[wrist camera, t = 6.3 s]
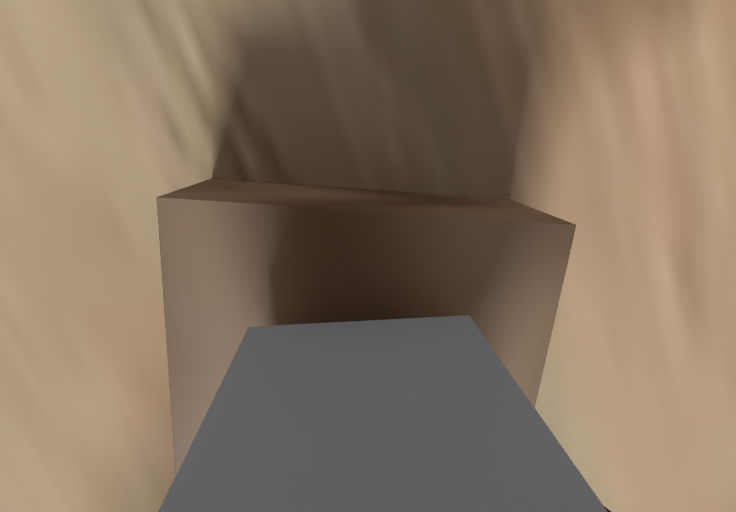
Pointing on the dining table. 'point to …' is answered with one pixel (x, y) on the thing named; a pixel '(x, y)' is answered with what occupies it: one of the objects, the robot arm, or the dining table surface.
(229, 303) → the walnut block
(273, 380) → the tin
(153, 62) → the dining table surface
